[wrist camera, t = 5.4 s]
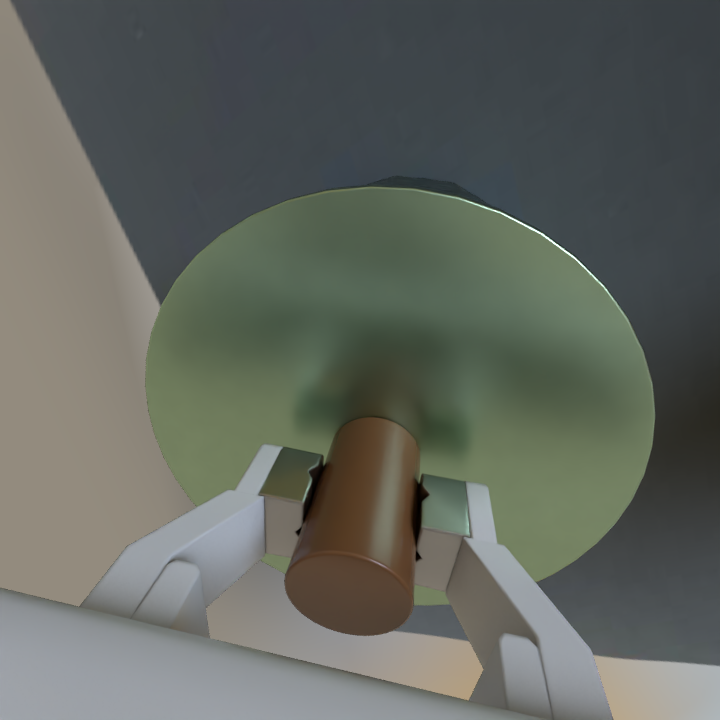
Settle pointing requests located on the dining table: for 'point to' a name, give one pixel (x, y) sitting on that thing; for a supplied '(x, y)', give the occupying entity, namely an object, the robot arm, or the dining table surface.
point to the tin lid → (402, 385)
